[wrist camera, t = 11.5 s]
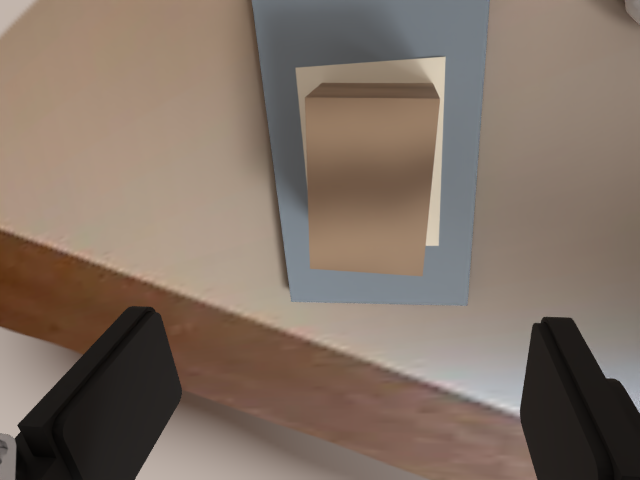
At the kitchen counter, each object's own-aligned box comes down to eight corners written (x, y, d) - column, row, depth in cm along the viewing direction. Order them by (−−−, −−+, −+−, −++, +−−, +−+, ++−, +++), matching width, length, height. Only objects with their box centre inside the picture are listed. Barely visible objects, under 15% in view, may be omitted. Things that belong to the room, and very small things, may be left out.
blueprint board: (465, 297, 31) (467, 306, 30) (294, 293, 33) (290, 302, 32) (489, -48, 22) (493, -50, 21) (254, -21, 24) (248, -23, 23)
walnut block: (419, 235, 28) (422, 276, 24) (323, 230, 29) (309, 268, 24) (433, 83, 24) (440, 98, 20) (321, 82, 25) (304, 97, 20)
